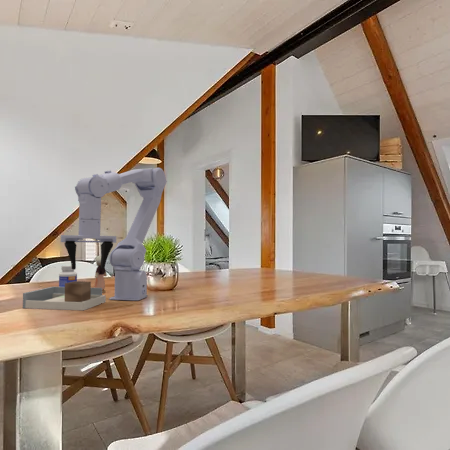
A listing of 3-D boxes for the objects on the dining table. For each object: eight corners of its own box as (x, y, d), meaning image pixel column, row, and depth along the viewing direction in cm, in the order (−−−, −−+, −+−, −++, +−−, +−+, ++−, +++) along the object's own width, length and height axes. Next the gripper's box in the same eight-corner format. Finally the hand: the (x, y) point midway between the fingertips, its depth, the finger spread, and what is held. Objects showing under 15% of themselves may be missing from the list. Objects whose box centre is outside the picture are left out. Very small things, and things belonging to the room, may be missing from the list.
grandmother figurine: (96, 290, 131) (97, 255, 131) (108, 290, 131) (108, 255, 131) (90, 294, 123) (91, 256, 123) (102, 294, 123) (103, 256, 124)
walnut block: (90, 299, 102) (90, 281, 102) (81, 302, 97) (81, 283, 98) (74, 298, 103) (74, 281, 103) (64, 301, 98) (64, 283, 98)
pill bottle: (70, 297, 117) (70, 266, 117) (54, 296, 118) (55, 266, 118) (80, 294, 122) (80, 265, 123) (65, 293, 123) (66, 264, 124)
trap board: (106, 301, 110) (106, 288, 110) (83, 310, 96) (83, 295, 97) (52, 299, 112) (52, 286, 112) (22, 308, 99) (23, 293, 99)
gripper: (112, 221, 110) (111, 267, 110) (59, 219, 103) (58, 268, 102) (118, 220, 104) (117, 268, 104) (63, 218, 97) (61, 270, 96)
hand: (88, 268), depth 103 cm, fingers open, 7 cm apart
